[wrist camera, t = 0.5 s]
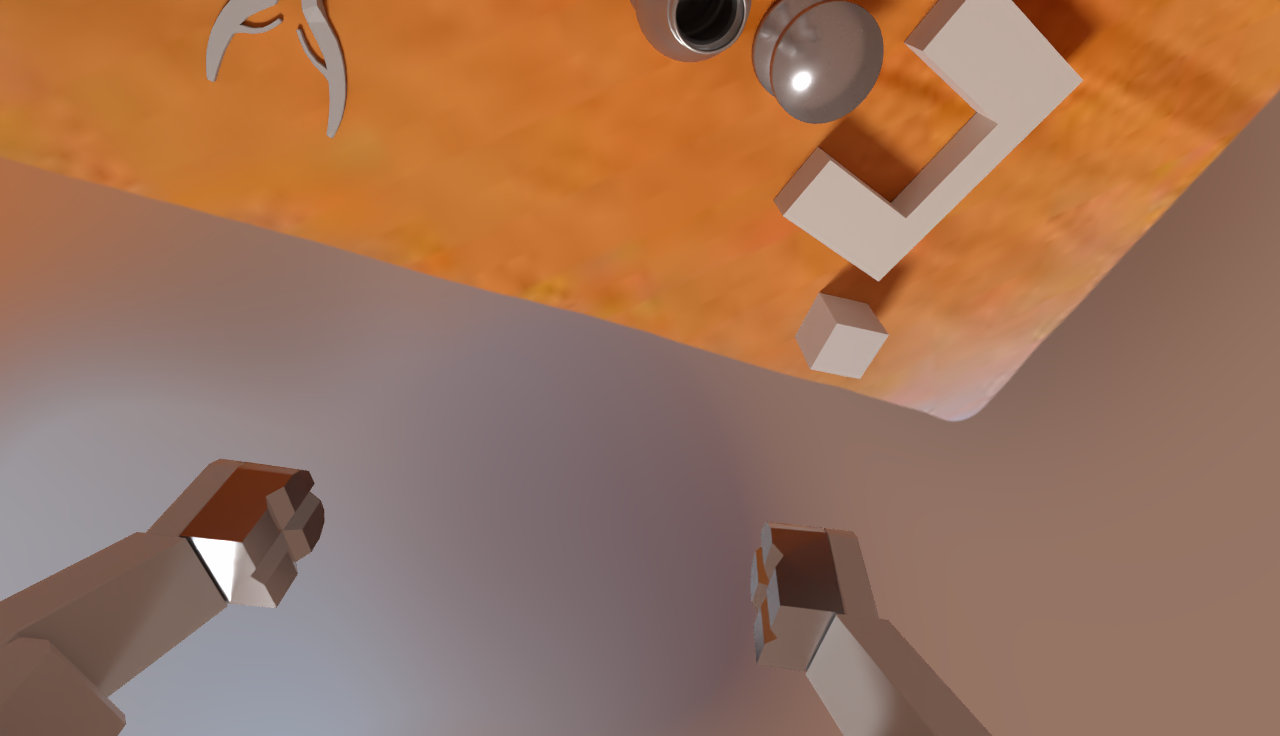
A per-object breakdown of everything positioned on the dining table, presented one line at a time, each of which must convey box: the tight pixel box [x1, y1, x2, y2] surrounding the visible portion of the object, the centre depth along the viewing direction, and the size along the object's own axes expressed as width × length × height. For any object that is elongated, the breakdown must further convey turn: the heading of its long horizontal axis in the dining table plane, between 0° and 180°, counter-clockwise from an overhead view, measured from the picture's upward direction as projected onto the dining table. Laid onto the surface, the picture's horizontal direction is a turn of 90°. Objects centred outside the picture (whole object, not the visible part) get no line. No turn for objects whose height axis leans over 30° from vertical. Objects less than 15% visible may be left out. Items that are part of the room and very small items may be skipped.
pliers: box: [206, 0, 347, 138], centre depth 44 cm, size 10×2×15 cm
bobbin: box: [752, 0, 883, 124], centre depth 45 cm, size 8×8×7 cm
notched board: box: [774, 0, 1083, 282], centre depth 52 cm, size 22×13×4 cm, turn 146°
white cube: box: [795, 293, 889, 379], centre depth 63 cm, size 6×6×6 cm
